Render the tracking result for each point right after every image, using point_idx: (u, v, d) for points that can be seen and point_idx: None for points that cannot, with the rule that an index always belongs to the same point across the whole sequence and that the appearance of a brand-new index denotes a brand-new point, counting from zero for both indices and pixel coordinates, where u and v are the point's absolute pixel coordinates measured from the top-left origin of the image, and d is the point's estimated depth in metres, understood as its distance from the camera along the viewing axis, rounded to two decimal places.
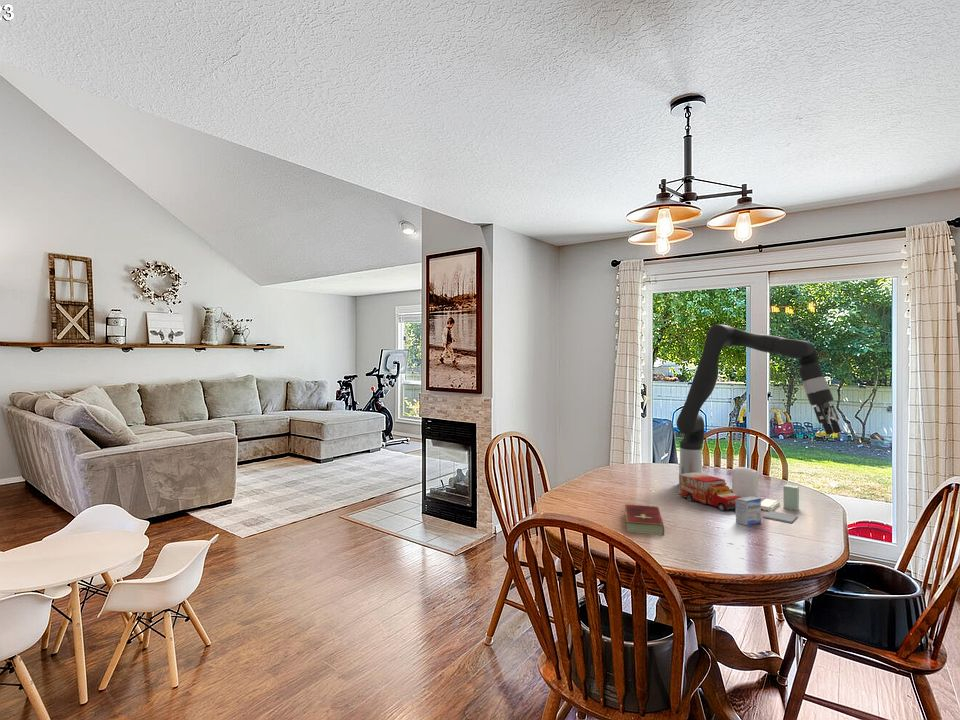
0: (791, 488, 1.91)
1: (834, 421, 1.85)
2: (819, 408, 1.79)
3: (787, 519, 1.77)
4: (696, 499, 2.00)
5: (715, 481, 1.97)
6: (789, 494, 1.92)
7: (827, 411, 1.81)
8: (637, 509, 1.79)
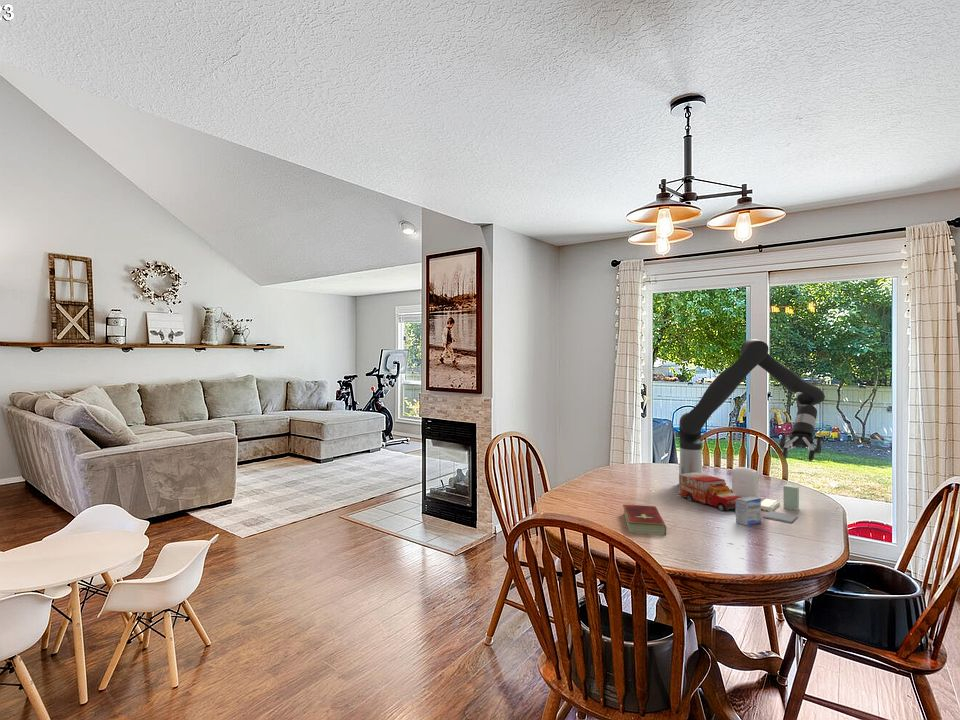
0: (791, 488, 1.91)
1: (787, 449, 2.05)
2: (821, 442, 2.00)
3: (787, 519, 1.77)
4: (696, 499, 2.00)
5: (715, 481, 1.97)
6: (789, 494, 1.92)
7: None
8: (636, 510, 1.79)
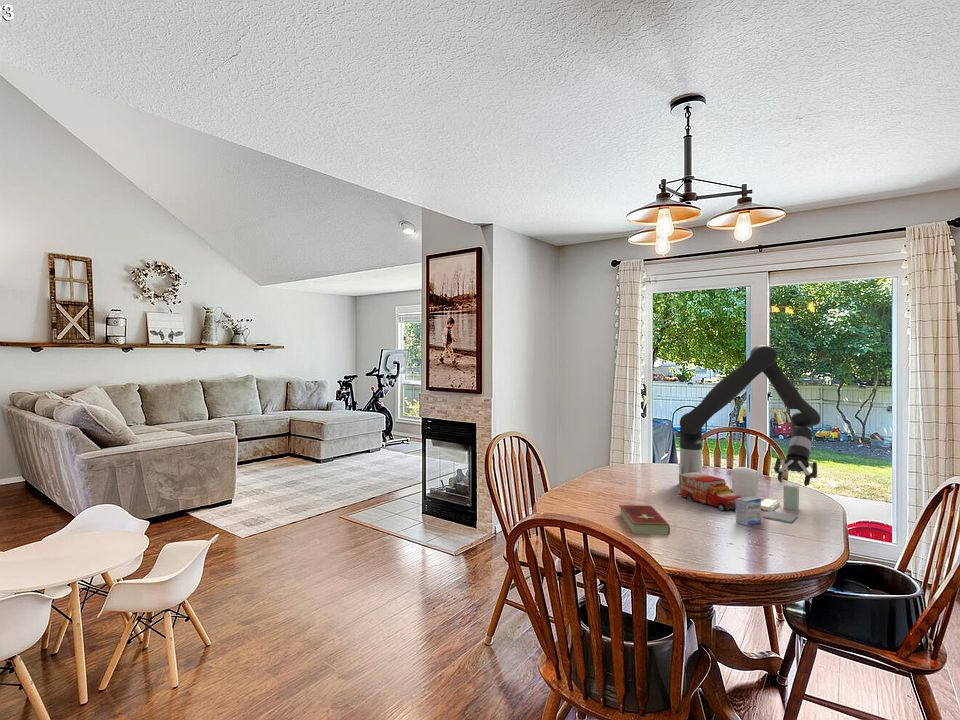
0: (791, 488, 1.91)
1: (782, 473, 1.99)
2: None
3: (787, 519, 1.77)
4: (696, 499, 2.00)
5: (715, 481, 1.98)
6: (789, 494, 1.92)
7: None
8: (634, 510, 1.79)
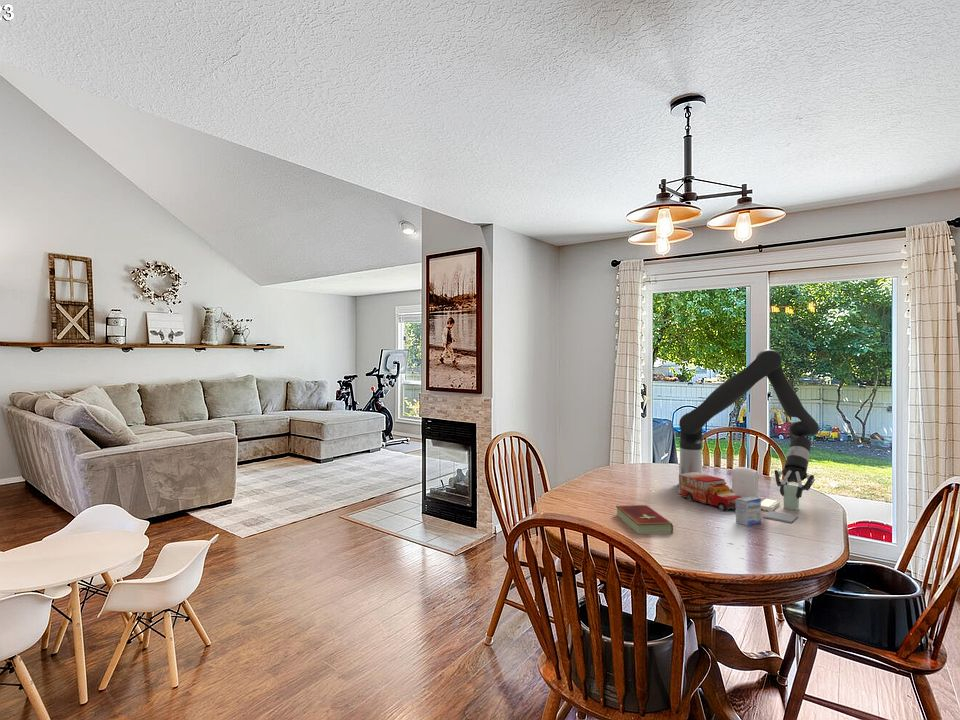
0: (791, 488, 1.91)
1: None
2: (814, 480, 1.91)
3: (787, 519, 1.77)
4: (696, 499, 2.00)
5: (715, 481, 1.98)
6: (789, 494, 1.92)
7: (801, 480, 1.94)
8: (632, 510, 1.78)
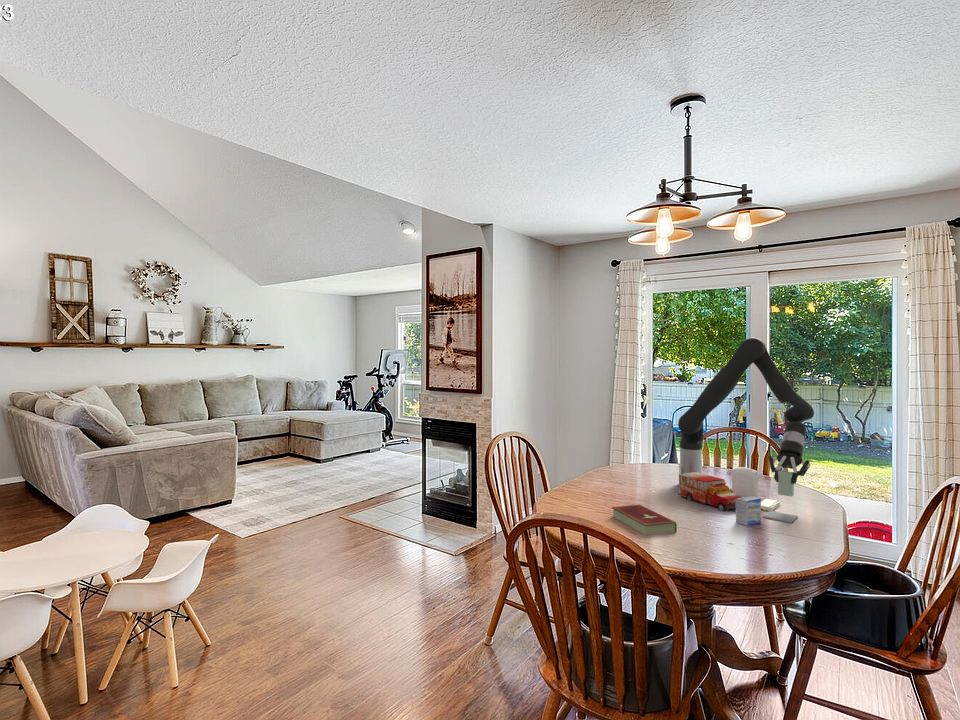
0: (786, 474, 1.85)
1: None
2: (809, 465, 1.85)
3: (787, 519, 1.77)
4: (696, 499, 2.00)
5: (715, 481, 1.98)
6: (784, 480, 1.86)
7: (796, 466, 1.88)
8: (631, 510, 1.78)
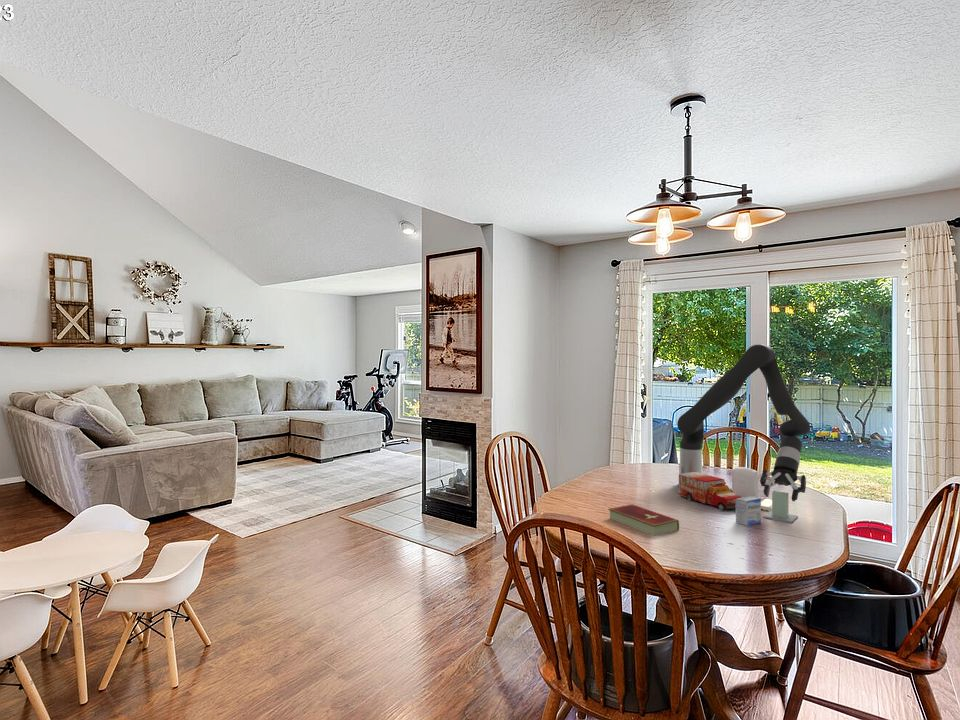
0: (780, 494, 1.80)
1: (769, 486, 1.85)
2: None
3: (787, 519, 1.77)
4: (696, 499, 2.00)
5: (715, 481, 1.98)
6: (778, 500, 1.80)
7: None
8: (629, 511, 1.77)
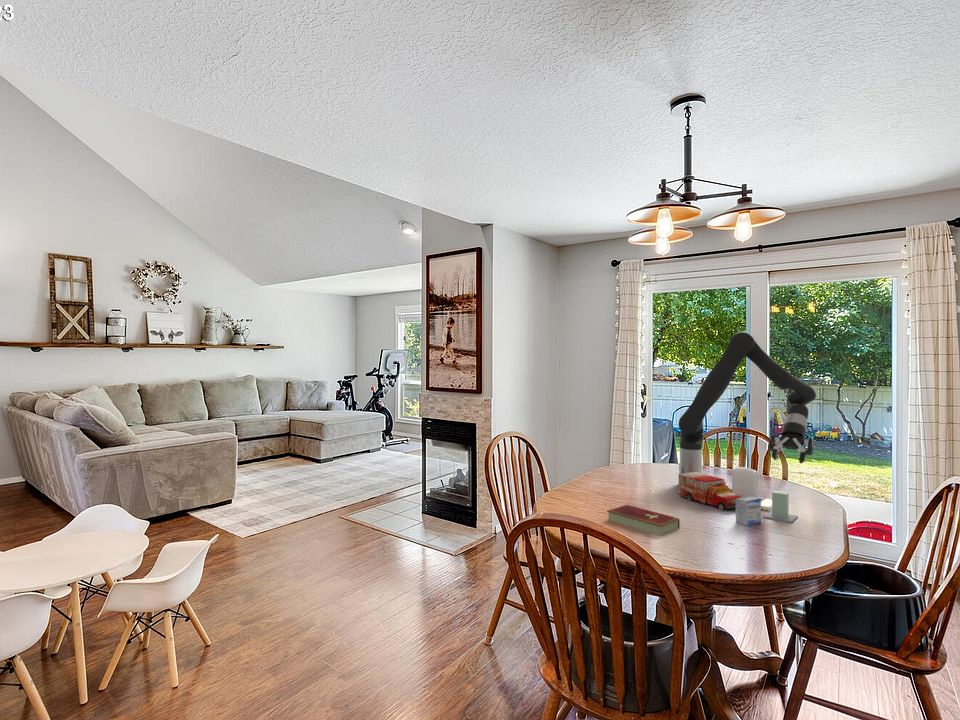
0: (780, 494, 1.80)
1: (777, 450, 1.94)
2: (812, 443, 1.89)
3: (787, 519, 1.77)
4: (696, 499, 2.00)
5: (715, 481, 1.98)
6: (778, 500, 1.80)
7: None
8: (628, 512, 1.76)
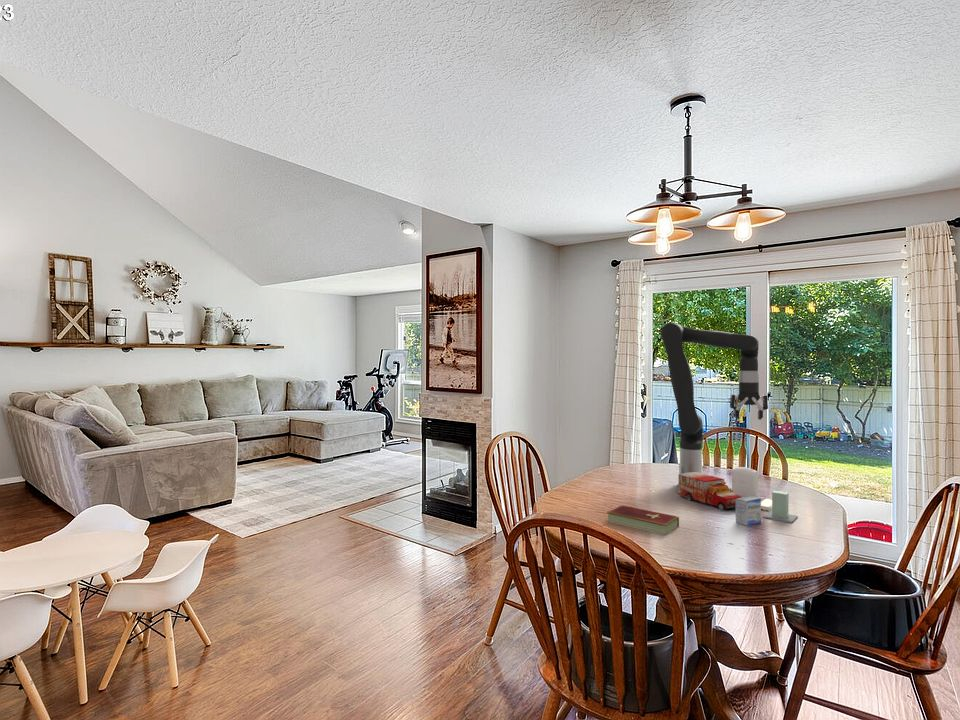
0: (780, 494, 1.80)
1: None
2: None
3: (787, 519, 1.77)
4: (696, 499, 2.00)
5: (714, 480, 1.98)
6: (778, 500, 1.80)
7: None
8: (628, 513, 1.75)
